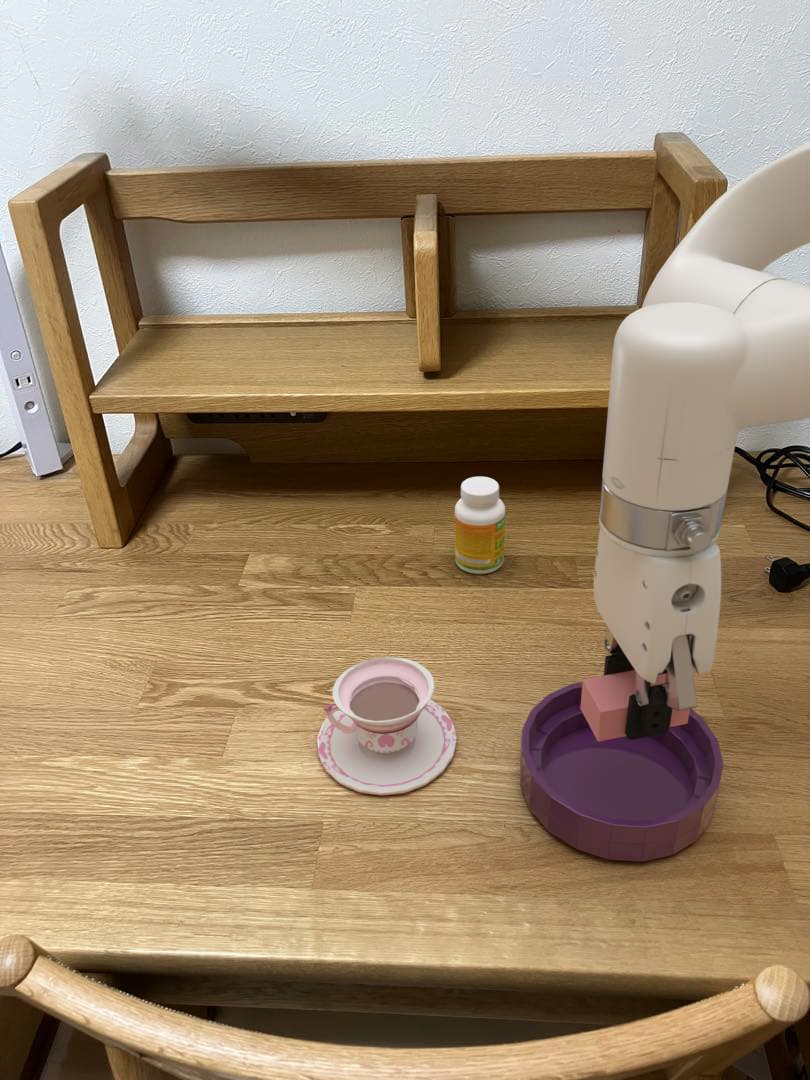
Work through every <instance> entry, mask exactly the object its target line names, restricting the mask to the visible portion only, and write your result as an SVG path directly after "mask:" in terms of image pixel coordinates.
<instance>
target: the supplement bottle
mask: <svg viewBox="0 0 810 1080" xmlns="http://www.w3.org/2000/svg"><path fill="white" fill-rule="evenodd" d="M460 496H461V497H460V499H458V501H457V502H456V504H455V506H454V560H455V564H456V565H457V566H458V568H459V569H460V570H462V571H463V572H466V573H469V574H474V575H485V574H486V575H487V574H490V573H494V572H495V571H498V570H499V569H500V568H501V567H502V566H503V565H504V561H505V537H506V505H505V503H504V502H503V500H502V499H501V498H500V485H499V483H498V481H496V480H495V479H493V478H491V477H488V476H472V477H469V478H468V477H467V478H466V479H465V480H463V481H462V482H461V485H460Z"/></svg>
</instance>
